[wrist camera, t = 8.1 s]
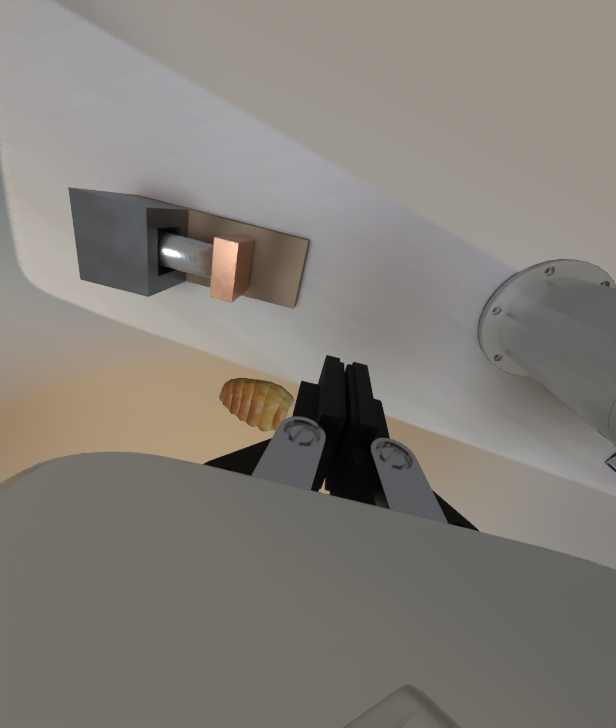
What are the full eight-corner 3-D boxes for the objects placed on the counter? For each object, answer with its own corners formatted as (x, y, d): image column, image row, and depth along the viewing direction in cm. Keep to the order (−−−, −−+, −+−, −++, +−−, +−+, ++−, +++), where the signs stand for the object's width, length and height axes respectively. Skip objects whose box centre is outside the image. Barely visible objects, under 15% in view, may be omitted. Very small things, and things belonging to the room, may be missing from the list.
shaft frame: (309, 239, 30) (299, 247, 22) (295, 304, 33) (282, 330, 26) (137, 195, 30) (68, 187, 22) (140, 265, 33) (80, 279, 25)
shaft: (254, 239, 28) (238, 243, 24) (247, 290, 30) (231, 302, 26) (121, 205, 28) (80, 202, 23) (124, 258, 30) (87, 266, 26)
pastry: (220, 404, 41) (209, 421, 37) (229, 364, 38) (218, 378, 34) (283, 425, 41) (279, 444, 38) (298, 387, 38) (294, 403, 35)
